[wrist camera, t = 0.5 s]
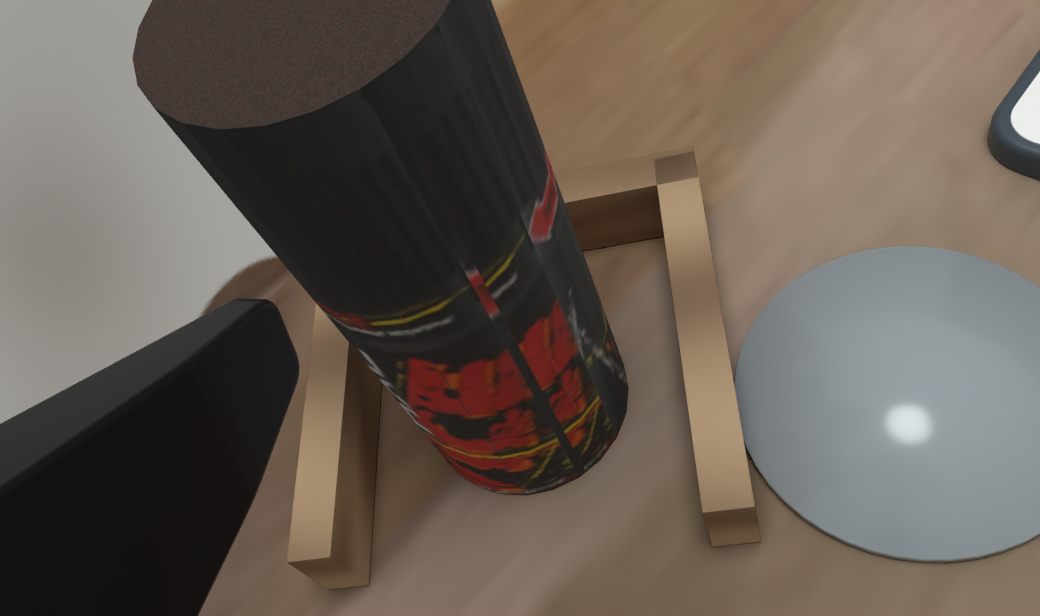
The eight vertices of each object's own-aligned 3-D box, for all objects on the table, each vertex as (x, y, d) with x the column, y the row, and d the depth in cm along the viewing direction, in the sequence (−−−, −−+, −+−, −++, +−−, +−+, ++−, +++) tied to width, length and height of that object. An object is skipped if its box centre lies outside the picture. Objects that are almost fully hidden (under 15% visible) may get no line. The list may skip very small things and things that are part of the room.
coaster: (1081, 616, 21) (1084, 612, 21) (692, 499, 25) (691, 495, 24) (1129, 286, 24) (1131, 280, 24) (784, 228, 28) (784, 222, 28)
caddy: (760, 541, 24) (755, 506, 22) (328, 589, 26) (286, 562, 24) (701, 198, 30) (693, 146, 28) (357, 263, 32) (325, 219, 30)
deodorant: (396, 446, 28) (67, 84, 16) (497, 289, 30) (275, -137, 18) (565, 530, 25) (322, 169, 13) (663, 351, 27) (535, -104, 15)
